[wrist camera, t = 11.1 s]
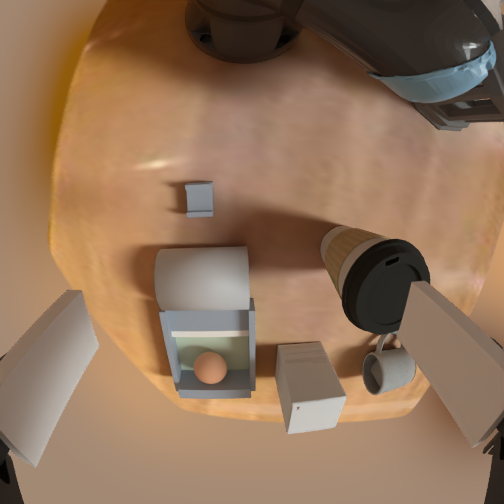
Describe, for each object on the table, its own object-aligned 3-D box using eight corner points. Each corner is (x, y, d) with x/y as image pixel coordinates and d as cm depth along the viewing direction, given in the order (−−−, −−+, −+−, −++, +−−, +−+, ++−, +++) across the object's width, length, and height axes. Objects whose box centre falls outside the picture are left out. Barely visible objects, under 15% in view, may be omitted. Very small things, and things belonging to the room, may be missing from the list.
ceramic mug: (394, 368, 46) (411, 393, 39) (358, 376, 45) (373, 403, 38) (408, 323, 43) (430, 346, 36) (370, 330, 42) (390, 356, 35)
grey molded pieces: (156, 184, 35) (136, 190, 27) (251, 179, 36) (255, 184, 28) (180, 369, 44) (174, 402, 37) (253, 368, 45) (256, 402, 38)
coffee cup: (316, 290, 39) (355, 354, 25) (298, 225, 36) (339, 267, 22) (376, 267, 39) (434, 316, 24) (364, 203, 35) (432, 230, 21)
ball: (196, 349, 42) (189, 354, 37) (227, 349, 42) (224, 354, 37) (197, 379, 41) (191, 387, 36) (229, 379, 41) (226, 387, 36)
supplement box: (273, 377, 44) (284, 435, 32) (277, 343, 41) (291, 403, 29) (315, 374, 44) (335, 428, 32) (322, 340, 42) (348, 396, 30)
